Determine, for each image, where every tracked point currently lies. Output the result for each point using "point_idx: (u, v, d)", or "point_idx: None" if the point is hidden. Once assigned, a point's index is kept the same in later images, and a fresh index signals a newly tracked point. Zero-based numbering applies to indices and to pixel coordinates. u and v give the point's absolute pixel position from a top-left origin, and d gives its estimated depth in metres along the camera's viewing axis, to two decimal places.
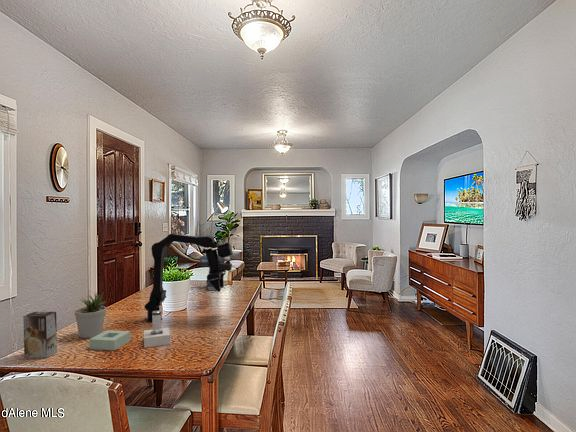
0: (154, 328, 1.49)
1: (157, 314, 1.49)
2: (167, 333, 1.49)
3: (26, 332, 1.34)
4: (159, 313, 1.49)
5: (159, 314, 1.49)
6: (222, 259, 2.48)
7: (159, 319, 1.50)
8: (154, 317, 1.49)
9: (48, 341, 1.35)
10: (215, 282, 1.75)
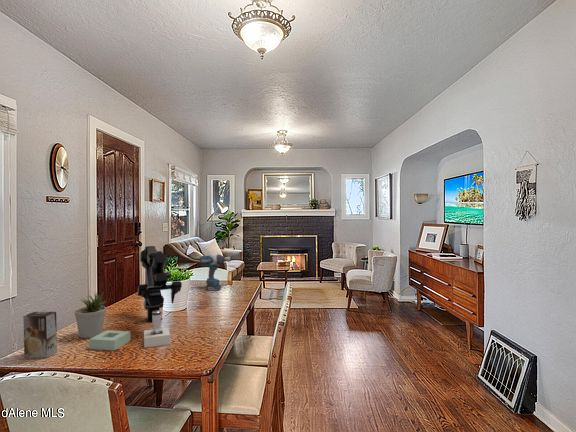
0: (154, 328, 1.49)
1: (157, 314, 1.49)
2: (167, 333, 1.49)
3: (26, 332, 1.34)
4: (159, 313, 1.49)
5: (159, 314, 1.49)
6: (222, 259, 2.48)
7: (159, 319, 1.50)
8: (154, 317, 1.49)
9: (48, 341, 1.35)
10: (147, 296, 1.59)
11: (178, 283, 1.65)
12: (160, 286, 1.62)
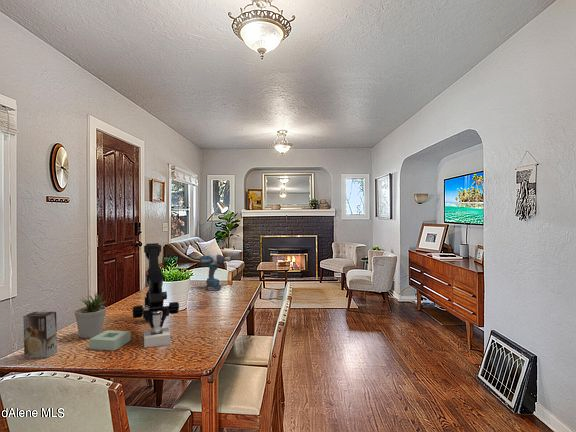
0: (154, 328, 1.49)
1: (157, 314, 1.49)
2: (167, 333, 1.49)
3: (26, 332, 1.34)
4: (159, 313, 1.49)
5: (159, 314, 1.49)
6: (222, 259, 2.48)
7: (159, 319, 1.50)
8: (154, 317, 1.49)
9: (48, 341, 1.35)
10: None
11: (175, 304, 1.55)
12: (162, 307, 1.55)
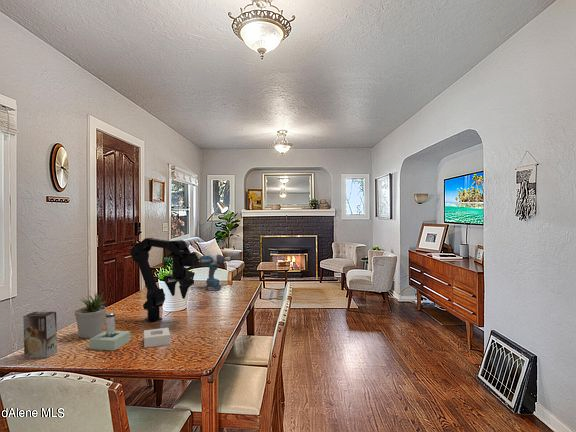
0: (106, 330, 1.46)
1: (108, 316, 1.46)
2: (167, 333, 1.49)
3: (26, 332, 1.34)
4: (110, 316, 1.46)
5: (110, 317, 1.46)
6: (222, 259, 2.48)
7: (110, 322, 1.46)
8: (106, 319, 1.46)
9: (48, 341, 1.35)
10: (184, 288, 1.71)
11: None
12: None
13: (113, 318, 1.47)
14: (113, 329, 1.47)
